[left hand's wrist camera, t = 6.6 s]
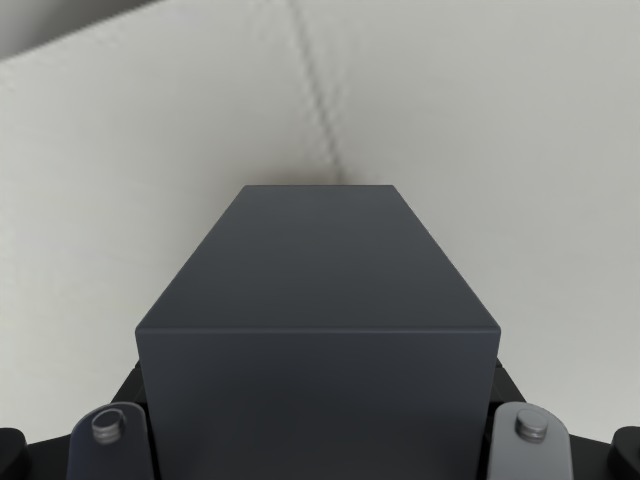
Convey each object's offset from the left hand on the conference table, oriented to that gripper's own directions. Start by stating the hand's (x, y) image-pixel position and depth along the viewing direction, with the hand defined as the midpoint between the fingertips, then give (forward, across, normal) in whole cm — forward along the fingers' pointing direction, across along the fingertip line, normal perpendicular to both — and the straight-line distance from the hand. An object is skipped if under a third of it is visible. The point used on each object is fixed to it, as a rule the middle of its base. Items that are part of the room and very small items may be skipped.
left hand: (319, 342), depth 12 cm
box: (+6, 0, -8) cm, 10 cm away
